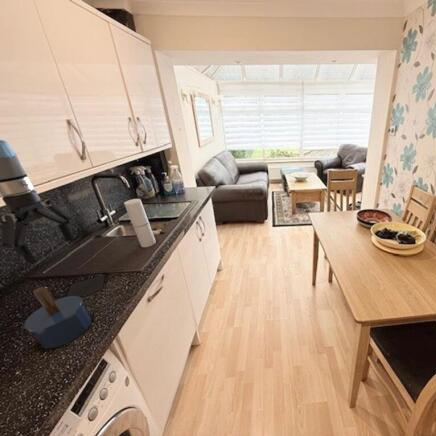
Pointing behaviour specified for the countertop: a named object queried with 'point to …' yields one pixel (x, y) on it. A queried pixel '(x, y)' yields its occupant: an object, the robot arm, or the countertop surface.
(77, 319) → the pot
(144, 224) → the cylindrical container
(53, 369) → the countertop surface
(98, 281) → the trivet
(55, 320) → the lid
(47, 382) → the countertop surface
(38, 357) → the countertop surface
